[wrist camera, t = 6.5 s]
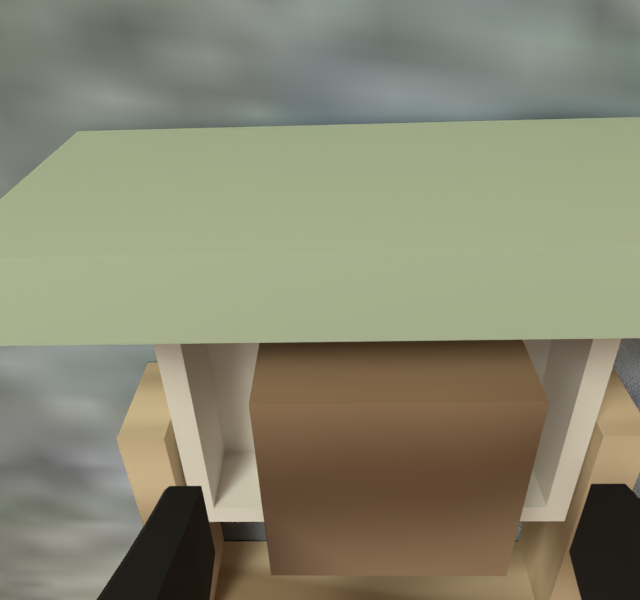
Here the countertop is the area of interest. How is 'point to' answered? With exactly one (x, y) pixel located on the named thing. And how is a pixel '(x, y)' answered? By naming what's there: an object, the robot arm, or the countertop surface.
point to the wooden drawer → (333, 263)
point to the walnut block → (394, 454)
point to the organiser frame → (386, 591)
